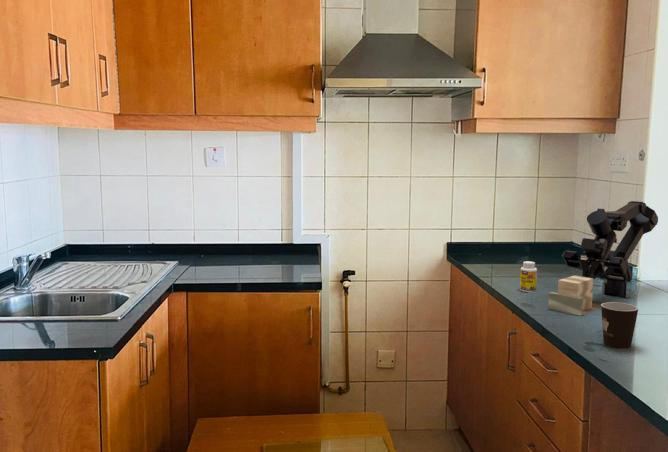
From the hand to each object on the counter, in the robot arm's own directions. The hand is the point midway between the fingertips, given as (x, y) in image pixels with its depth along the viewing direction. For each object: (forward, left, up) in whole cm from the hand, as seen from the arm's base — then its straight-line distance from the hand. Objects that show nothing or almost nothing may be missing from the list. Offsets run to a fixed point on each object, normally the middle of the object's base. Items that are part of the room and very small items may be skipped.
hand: (583, 284), depth 187 cm
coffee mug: (-1, +32, -8) cm, 33 cm away
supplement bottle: (+12, -23, -8) cm, 28 cm away
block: (+3, +4, -7) cm, 9 cm away
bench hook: (+2, +3, -8) cm, 9 cm away
